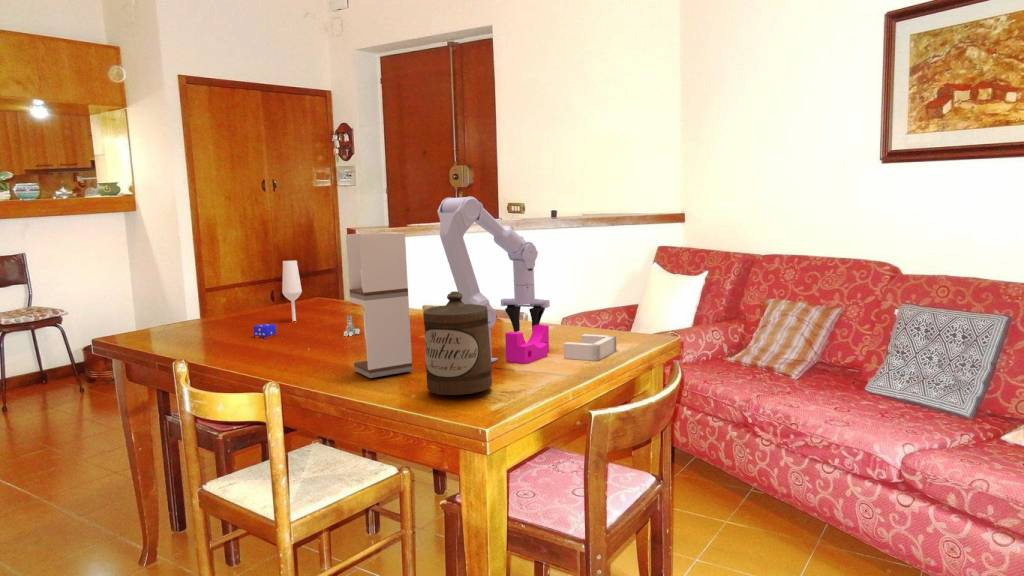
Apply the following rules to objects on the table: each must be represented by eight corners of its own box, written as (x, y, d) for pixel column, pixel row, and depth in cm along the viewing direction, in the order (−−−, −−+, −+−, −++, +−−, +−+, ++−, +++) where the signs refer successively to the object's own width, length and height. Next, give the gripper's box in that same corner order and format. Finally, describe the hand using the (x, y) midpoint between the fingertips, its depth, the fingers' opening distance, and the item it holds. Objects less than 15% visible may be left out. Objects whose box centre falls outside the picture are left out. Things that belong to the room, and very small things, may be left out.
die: (267, 342, 227) (265, 326, 226) (254, 341, 228) (252, 326, 228) (276, 339, 231) (275, 324, 231) (264, 338, 233) (263, 323, 232)
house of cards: (367, 341, 223) (365, 317, 222) (340, 342, 223) (338, 318, 222) (373, 336, 232) (372, 313, 231) (347, 337, 232) (345, 314, 231)
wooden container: (415, 393, 157) (410, 295, 154) (444, 377, 170) (440, 287, 168) (476, 397, 151) (471, 296, 149) (501, 380, 165) (498, 287, 163)
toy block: (525, 363, 181) (524, 335, 181) (505, 361, 185) (505, 333, 184) (556, 353, 193) (556, 326, 193) (537, 350, 197) (537, 324, 196)
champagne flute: (281, 329, 250) (276, 262, 247) (290, 326, 257) (285, 260, 254) (299, 329, 249) (294, 261, 246) (307, 325, 255) (302, 260, 253)
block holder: (597, 361, 182) (597, 345, 181) (563, 358, 186) (563, 343, 186) (616, 350, 194) (616, 336, 193) (584, 348, 198) (584, 334, 198)
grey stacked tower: (395, 363, 188) (388, 232, 183) (412, 370, 179) (404, 232, 174) (354, 370, 181) (345, 234, 177) (369, 378, 173) (360, 235, 168)
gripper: (553, 283, 197) (555, 330, 199) (508, 282, 204) (510, 328, 206) (542, 286, 191) (544, 335, 193) (496, 285, 198) (498, 332, 200)
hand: (525, 331), depth 199 cm, fingers open, 5 cm apart
